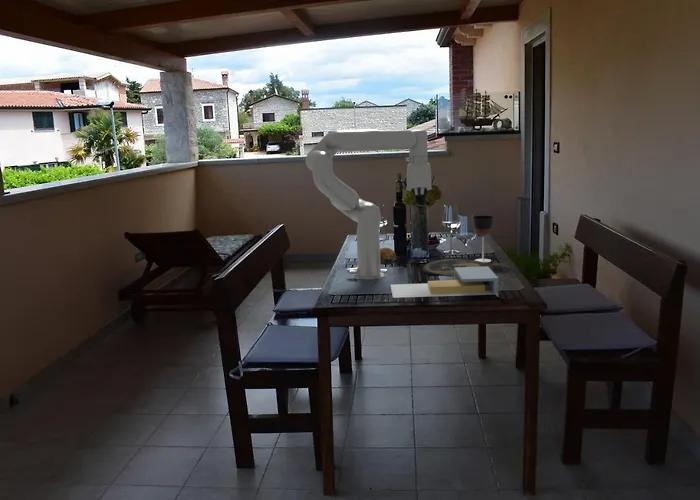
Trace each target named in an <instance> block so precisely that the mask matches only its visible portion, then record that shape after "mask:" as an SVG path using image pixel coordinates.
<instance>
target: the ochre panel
mask: <svg viewBox="0 0 700 500" xmlns="http://www.w3.org/2000/svg"><path fill="white" fill-rule="evenodd" d="M427 283H428V289H429V291H430V293H458V292H485V285H484V283H483V282H482V281H475V282H462V281H461V280H454V279H448V280H447V279H445V280H443V279H442V280H427Z"/></svg>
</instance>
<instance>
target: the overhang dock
mask: <svg viewBox="0 0 700 500" xmlns="http://www.w3.org/2000/svg"><path fill="white" fill-rule="evenodd" d="M453 277H454V279H453V280H461V281H462V282H475V281H482V282H483V283H484V285H485V292H458V293H430V291H429V289H428V282H427V283H403V284H402V283H400V284H399V283H397V284H390V289H391V295H392V298H393V299H394V298H395V299H396V298H397V299H398V298H423V297H424V298H426V297H427V298H428V297H430V298H431V297H450V296H451V297H455V296H457V297H458V296H459V297H460V296H483V295H484V296H487V295H495V296H496V297H498V298H499V277H498V276H497V274H496V273H495V272H494V270H493V271H492V270H491V269H490V268H489V267H488V266H485V267H456V268H454V276H453Z"/></svg>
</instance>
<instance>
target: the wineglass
mask: <svg viewBox="0 0 700 500" xmlns="http://www.w3.org/2000/svg"><path fill="white" fill-rule="evenodd" d="M472 221H473V228H474V229H473V230H474V232H475V233H476V234H478V235H479V236H481V241H482V242H481V250H482V251H481V258H477V259H474V260H475V261H480V262H484V263H490V262H492V260H491V259H490V258H489V259H488V258H485V257H484V256H485V253H484V252H485V245H484V244H485V241H484V240H485V236H487V235H489V234H490V233H491V232H492V229H493V223H494V216H492V215H475V216H473V217H472Z"/></svg>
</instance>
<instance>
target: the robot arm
mask: <svg viewBox="0 0 700 500" xmlns="http://www.w3.org/2000/svg"><path fill="white" fill-rule="evenodd" d="M392 150H393V151H395V150H396V151H397V150H408V151H409V152H408V153H409V154H408V157H405V161H406V162H409V163H408V164H407V166H406V167H407V168H406V187H405V189H406V191H409V192H412V193H413V194H414V195H415V199H414V200H415V202H414V203H416V204H417V205H422V203H424V194H425V193H426V192H427V191H430V190H433V187H432V170H431V163H429V162H428V160H429V159H428V155H429V154H428V151H429V150H428V132H427V130H425V129H412V130H409V129H396V130H381V129H380V130H379V129H342V130H341V129H340V130H339V129H338V130H337V129H336V130H335V129H334V130H330V131H329V132H328V133H326V135H325V136H323V138H322V139H320V141H319V142H317V144H316V145H315V146H314V147H313V148H312V149H311V150H310V151H309V152H308V153H307V155H306V157H305V160H304V161H305V165H306V167H307V168H308V170H310V171H312V178H313V179H312V180H313V182H314V185H315V187H316V188H317V189H318V190H319V191H320V192H321V193H322V194H323V195H324V196H325V197H327V198H328V199H329V200H330V201H329V202H330V203H331V205H332V206H333V207H334V208H336V209H337V210H338V211H339V212H340V213H342V214H343V215H345V216H346V217H348V218H349V219H351V220H352V221H353V222H355V223H357V225H356V227H357V228H356V257H357V258H356V259H357V266H356V267H354V268H346V270H347V271H346V273H347V274H350V275H351V274H352V275H353V274H354V279H355V280H376V279H384V278H385V273H383V272H382V271H381V263H380V248H381V242H380V241H381V240H380V236H381V235H380V234H381V233H380V230H381V219H382V218H381V217H382V214H381V210H380V208H379V207H378V206H377V204H375V203H372V202H370V201H366V200H365V199H362V198H361V197H360V196H359V194H358V193H357V191H356V190H355V189H353V187H350V186H349V185H348V184H346V183H345V182H343V181H342V180H341V179H340V178H338V176H336V175H335V173H334V169H333V164H334V163H333V157H334V156H335V155H336V154H337V153H340V152H341V153H348V152H349V153H352V152H378V151H379V152H380V151H392ZM418 189H420V190H418ZM418 191H420V192H418Z"/></svg>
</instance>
